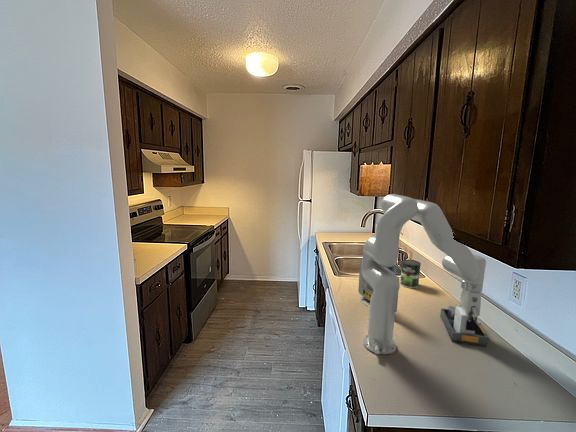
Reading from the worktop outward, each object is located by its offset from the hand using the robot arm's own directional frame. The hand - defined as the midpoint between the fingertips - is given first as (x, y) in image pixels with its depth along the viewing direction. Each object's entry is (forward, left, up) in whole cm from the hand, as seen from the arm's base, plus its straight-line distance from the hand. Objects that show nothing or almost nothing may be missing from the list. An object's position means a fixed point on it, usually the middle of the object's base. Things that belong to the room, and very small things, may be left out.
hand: (466, 323), depth 126 cm
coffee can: (+52, +16, -6) cm, 54 cm away
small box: (0, +1, -5) cm, 5 cm away
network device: (+18, +36, -6) cm, 41 cm away
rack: (+5, 0, -6) cm, 8 cm away
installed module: (+10, 0, -6) cm, 12 cm away
